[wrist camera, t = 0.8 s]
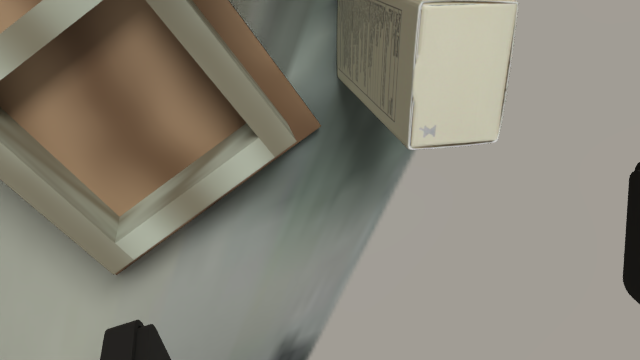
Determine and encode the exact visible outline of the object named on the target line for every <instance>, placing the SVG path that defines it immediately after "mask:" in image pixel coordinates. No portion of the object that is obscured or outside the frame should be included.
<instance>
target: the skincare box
mask: <svg viewBox="0 0 640 360" xmlns="http://www.w3.org/2000/svg"><path fill="white" fill-rule="evenodd" d="M518 5H519V4H518V1H515V0H338V20H337V75H338V78H339V79H340V80H341V81H342V82H343V83H344V84H345V85H346V86H347V87H348V88H349V89H350V90H351V91H352V92H353V93H354V94H355V95H356V96H357V97H358V98H359V99H360V100H361V101H362V102H363V103H364V104H365V105H366V106H367V107H368V108H369V109H370V110H371V111H372V112H373V114H374V115H375V116H376V117H377V118H378V119H379V120H380V121H381V122H382V123H383V124H384V125H385V126H386V127H387V128H388V129H389V130H390V131H391V132H392V133H393V134H394V135H395V136H396V137H397V138H398V139H399V140H400V141H401V142H402V143H403V144H404V145H405V146H406V147H407V148H408V149H409V150H418V149H433V148H448V147H462V146H473V145H480V144H489V143H495V142H496V141H497V140H498V137H499V132H500V128H501V123H502V118H503V112H504V107H505V102H506V95H507V88H508V82H509V75H510V68H511V60H512V54H513V46H514V38H515V30H516V20H517V11H518Z"/></svg>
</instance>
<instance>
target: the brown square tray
mask: <svg viewBox="0 0 640 360" xmlns="http://www.w3.org/2000/svg"><path fill="white" fill-rule="evenodd" d="M319 127H321V125H320V124H319V122H318V120H317V119H316V118H315V116H314V115H313V114H312V112H311V111H310V110H309V108H308V107H307V106H306V104H305V103H304V102H303V100H302V99H301V97H300V96H299V95H298V93H297V92H296V91H295V89H294V88H293V87H292V85H291V84H290V83H289V81H288V80H287V79H286V77H285V76H284V74H283V73H282V72H281V70H280V69H279V68H278V66H277V65H276V64H275V62H274V61H273V60H272V58H271V57H270V56H269V54H268V53H267V52H266V50H265V49H264V47H263V46H262V45H261V43H260V42H259V41H258V39H257V38H256V37H255V35H254V34H253V33H252V31H251V30H250V29H249V27H248V26H247V24H246V23H245V22H244V20H243V19H242V18H241V16H240V15H239V14H238V12H237V11H236V10H235V8H234V7H233V6H232V4H231V3H230V2H229V0H0V180H2V181H3V182H4V183H5V184H6V185H8V186H9V187H10V188H11V189H12V190H14V191H15V192H16V193H17V194H18V195H19V196H21V197H22V198H23V199H24V200H25V201H27V202H28V203H29V204H30V205H31V206H32V207H34V208H35V209H36V210H37V211H38V212H40V213H41V214H42V215H43V216H44V217H46V218H47V219H48V220H49V221H50V222H51V223H53V224H54V225H55V226H56V227H57V228H59V229H60V230H61V231H62V232H63V233H64V234H66V235H67V236H68V237H69V238H70V239H72V240H73V241H74V242H75V243H76V244H78V245H79V246H80V247H81V248H82V249H83V250H85V251H86V252H87V253H88V254H89V255H91V256H92V257H93V258H94V259H95V260H97V261H98V262H99V263H100V264H101V265H102V266H104V267H105V268H106V269H107V270H108V271H110V272H111V273H112V274H113V275H114V274H116V275H117V274H119V273H120V272H121V271H123V270H124V269H126V268H127V267H128V266H130V265H131V264H132V263H134V262H135V261H137V260H138V259H139V258H141V257H142V256H143V255H145V254H146V253H148V252H149V251H150V250H152V249H153V248H154V247H156V246H157V245H159V244H160V243H161V242H163V241H164V240H165V239H167V238H168V237H170V236H171V235H172V234H174V233H175V232H176V231H178V230H179V229H181V228H182V227H183V226H185V225H186V224H187V223H189V222H190V221H192V220H193V219H194V218H196V217H197V216H198V215H200V214H201V213H202V212H204V211H205V210H207V209H208V208H209V207H211V206H212V205H213V204H215V203H216V202H218V201H219V200H220V199H222V198H223V197H224V196H226V195H227V194H229V193H230V192H231V191H233V190H234V189H235V188H237V187H238V186H240V185H241V184H242V183H244V182H245V181H246V180H248V179H249V178H251V177H252V176H253V175H255V174H256V173H257V172H259V171H260V170H262V169H263V168H264V167H266V166H267V165H268V164H270V163H271V162H273V161H274V160H275V159H277V158H278V157H279V156H281V155H282V154H284V153H285V152H286V151H288V150H289V149H290V148H292V147H293V146H295V145H296V144H297V143H299V142H300V141H301V140H303V139H304V138H305V137H307V136H308V135H310V134H311V133H312V132H314V131H315V130H316V129H318V128H319Z"/></svg>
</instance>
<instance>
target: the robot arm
mask: <svg viewBox="0 0 640 360" xmlns="http://www.w3.org/2000/svg"><path fill="white" fill-rule="evenodd" d="M623 269H624V270H623V282H624V285H625V288H626V290H627V291H628V293H629V294H630V295H631V296H632V297H633V298H634V299H635V300H636V301H637V302H638V303H639V304H640V162H639V163H638V164H637V166H636V168H635V171H634V172H632V173H631V175H630V178H629V191H628V206H627V222H626V237H625V253H624V268H623ZM100 360H171V359H170V356H169V354H168V352H167V350H166V348H165V346H164V344H163V342H162V340H161V338H160V336H159V334H158V332H157V330H156V328H155V326H154V325H153V324H150V325H147V326H144V325H143V323H142V322H141V321H140V320H135V321H132V322H129V323H126V324H123V325H119V326H116V327H113V328H110V329H107V330H106V331H105V335H104V340H103V346H102V352H101V358H100Z"/></svg>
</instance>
